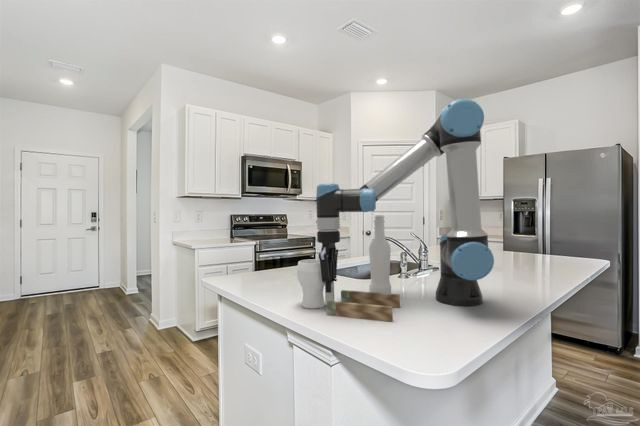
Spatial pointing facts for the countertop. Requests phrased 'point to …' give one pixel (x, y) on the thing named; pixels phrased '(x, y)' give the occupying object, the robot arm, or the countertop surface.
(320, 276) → the cup
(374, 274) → the bottle
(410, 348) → the countertop surface
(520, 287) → the countertop surface
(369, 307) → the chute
